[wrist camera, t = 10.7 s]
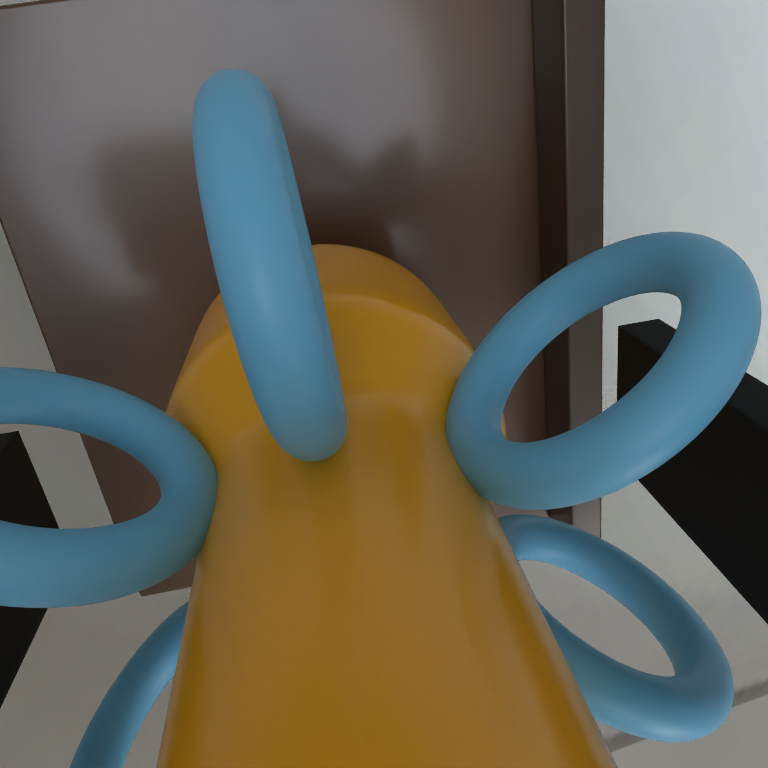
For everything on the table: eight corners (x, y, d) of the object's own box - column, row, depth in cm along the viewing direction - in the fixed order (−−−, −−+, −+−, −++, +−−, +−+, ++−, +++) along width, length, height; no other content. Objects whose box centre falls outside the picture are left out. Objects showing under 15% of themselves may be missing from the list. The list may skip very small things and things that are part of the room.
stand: (187, 439, 32) (126, 643, 20) (70, 47, 25) (-132, 4, 13) (488, 385, 33) (601, 549, 21) (460, -7, 26) (606, -94, 14)
